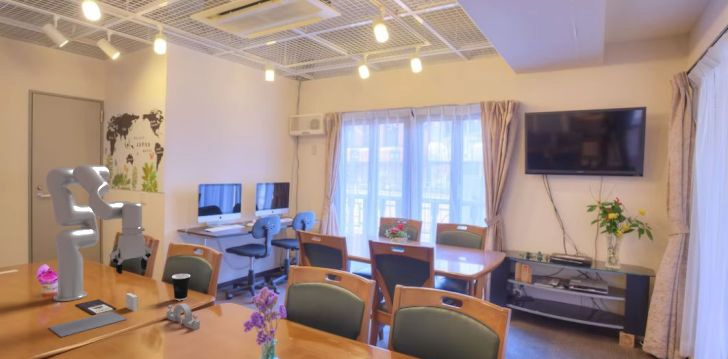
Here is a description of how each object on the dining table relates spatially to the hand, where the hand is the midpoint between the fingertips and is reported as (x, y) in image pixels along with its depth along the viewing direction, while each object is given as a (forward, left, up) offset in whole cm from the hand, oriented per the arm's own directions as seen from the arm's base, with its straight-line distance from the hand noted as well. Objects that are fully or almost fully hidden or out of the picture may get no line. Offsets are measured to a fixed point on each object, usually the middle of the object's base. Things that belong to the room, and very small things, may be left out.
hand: (131, 271), depth 175 cm
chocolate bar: (-13, -9, -17) cm, 23 cm away
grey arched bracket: (+31, +5, -17) cm, 36 cm away
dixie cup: (+4, +20, -17) cm, 26 cm away
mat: (+5, -18, -16) cm, 25 cm away
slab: (0, 0, -16) cm, 17 cm away
